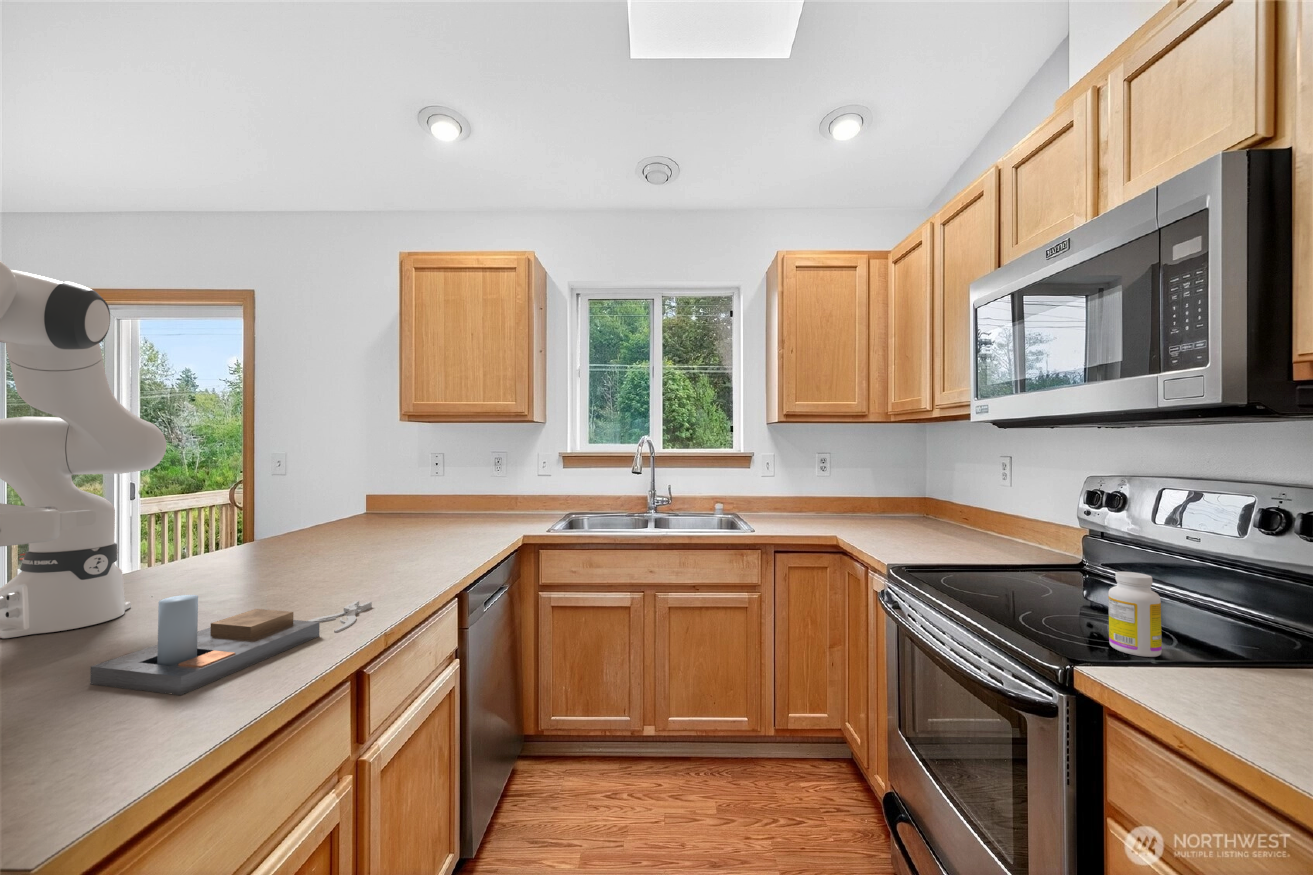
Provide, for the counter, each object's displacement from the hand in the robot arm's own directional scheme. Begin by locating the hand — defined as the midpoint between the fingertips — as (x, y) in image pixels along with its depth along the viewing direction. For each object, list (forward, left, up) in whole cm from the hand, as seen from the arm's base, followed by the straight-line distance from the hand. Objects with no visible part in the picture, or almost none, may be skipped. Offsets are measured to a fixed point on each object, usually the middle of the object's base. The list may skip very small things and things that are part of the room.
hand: (73, 514), depth 70 cm
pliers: (+6, +38, -26) cm, 46 cm away
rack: (+3, +17, -25) cm, 30 cm away
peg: (+2, +11, -25) cm, 27 cm away
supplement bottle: (+150, +52, -25) cm, 160 cm away
